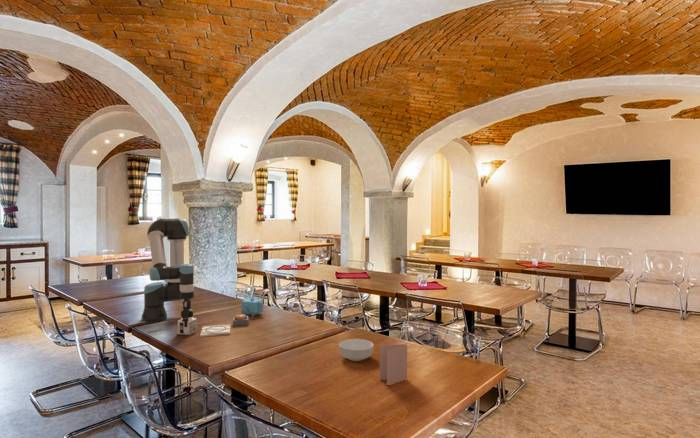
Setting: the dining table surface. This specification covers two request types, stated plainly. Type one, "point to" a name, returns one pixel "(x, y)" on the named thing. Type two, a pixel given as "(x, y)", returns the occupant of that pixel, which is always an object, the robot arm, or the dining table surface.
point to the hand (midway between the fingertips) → (187, 329)
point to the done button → (240, 317)
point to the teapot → (252, 306)
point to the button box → (240, 322)
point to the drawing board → (215, 330)
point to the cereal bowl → (356, 349)
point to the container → (191, 324)
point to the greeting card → (393, 363)
